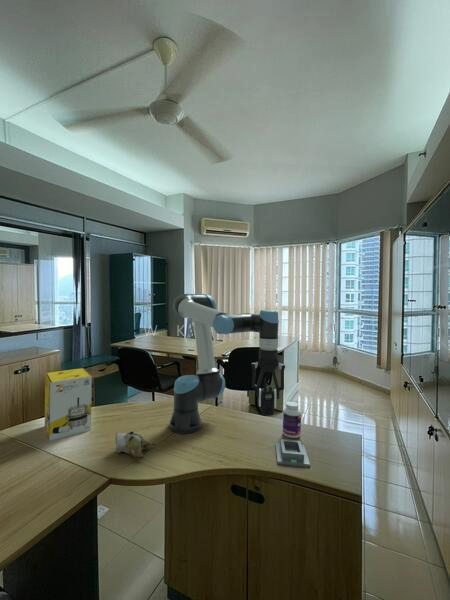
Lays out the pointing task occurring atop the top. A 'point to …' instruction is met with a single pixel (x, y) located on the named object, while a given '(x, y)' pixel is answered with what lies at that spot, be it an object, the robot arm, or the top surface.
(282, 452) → the charging cradle
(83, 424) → the packaging box
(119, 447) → the ceramic sculpture
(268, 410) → the two-way radio
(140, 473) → the top surface
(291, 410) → the pill bottle
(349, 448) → the top surface
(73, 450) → the top surface
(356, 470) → the top surface
